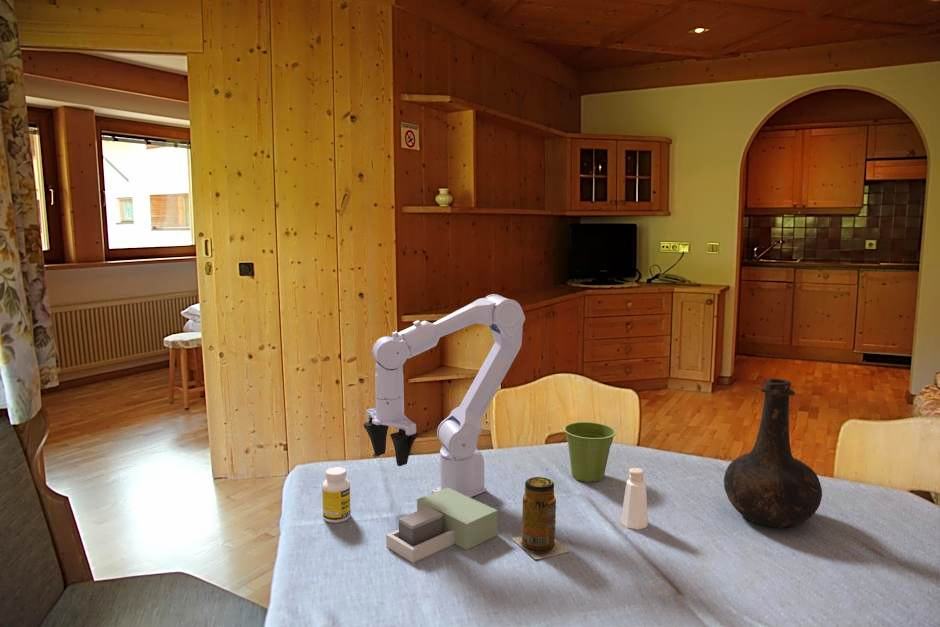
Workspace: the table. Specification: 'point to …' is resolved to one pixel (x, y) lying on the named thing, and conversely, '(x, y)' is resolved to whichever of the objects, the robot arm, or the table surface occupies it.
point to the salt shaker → (635, 501)
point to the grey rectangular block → (420, 526)
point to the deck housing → (450, 525)
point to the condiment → (539, 520)
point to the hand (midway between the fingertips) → (390, 459)
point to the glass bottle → (773, 470)
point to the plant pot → (589, 449)
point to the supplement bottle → (336, 495)
